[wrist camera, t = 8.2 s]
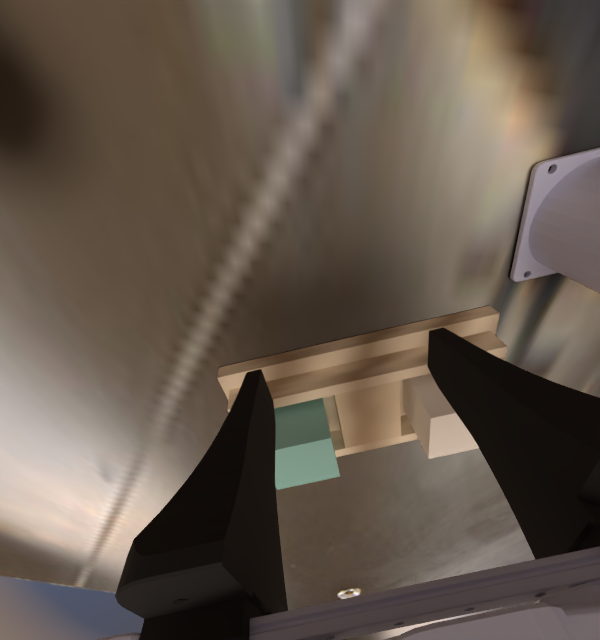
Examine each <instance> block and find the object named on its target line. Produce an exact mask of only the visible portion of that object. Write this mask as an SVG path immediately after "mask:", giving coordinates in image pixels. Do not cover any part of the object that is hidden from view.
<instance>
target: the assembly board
mask: <svg viewBox="0 0 600 640" xmlns="http://www.w3.org/2000/svg"><path fill="white" fill-rule="evenodd" d="M499 314H500V313H498V312H497V311H496V310H495V309H493V308H492V307H491V306H485V307H481V308H477V309H472V310H468V311H463V312H459V313H455V314H450V315H446V316H442V317H437V318H433V319H428V320H424V321H420V322H415V323H411V324H407V325H402V326H398V327H394V328H389V329H385V330H380V331H376V332H372V333H367V334H363V335H359V336H354V337H350V338H345V339H341V340H337V341H332V342H328V343H324V344H319V345H315V346H311V347H306V348H302V349H297V350H293V351H289V352H284V353H280V354H276V355H271V356H267V357H263V358H258V359H254V360H249V361H245V362H241V363H236V364H232V365H228V366H223V367H219V371H218V376H217V379H218V381H219V383H220V385H221V387H222V388H223V390H224V392H225V394H226V396H227V398H228V400H229V401H228V409H227V410H228V412H230V409H231V407H232V405H233V403H234V401H235V399H236V397H237V394H238V392H239V390H240V387H241V385H242V382H243V380H244V377H245V375H246V373H247V372H250V371H254V370H259V369H261V370H262V372H263V375H264V378H265V380H266V383H267V386H268V388H269V391H270V394H271V396H272V399H273V402H274V408H279V407H283V406H288V405H292V404H297V403H301V402H305V401H310V400H314V399H319V398H323V403H324V407H325V411H326V415H327V419H328V424H329V428H330V433H331V437H332V442H333V446H334V451H335V455H336V457H339V456H343V455H348V454H352V453H357V452H362V451H366V450H371V449H375V448H380V447H384V446H389V445H394V444H398V443H403V442H407V441H412V440H416V439H418V437H417V435H416V433H415V431H414V429H413V427H412V425H411V423H410V421H409V419H408V417H407V415H406V413H405V411H404V409H403V380H404V379H408V378H412V377H417V376H421V375H426V374H430V371H429V369H428V367H427V365H428V341H429V331H430V330H434V329H439V328H443V327H444V328H446V329H447V330H449V331H451V332H453V333H455V334H456V335H458V336H460V337H462V338H463V339H465V340H467V341H469V342H470V343H472V344H474V345H476V346H478V347H479V348H481V349H483V350H485V351H487V352H489V353H490V354H492V355H494V356H496V357H498V358H500V359H502V360H505V355H506V351H507V347H508V346H507V345H505V344H504V343H503V342H502V341H501V340H500V339H499V338H498V337H497V336H495V335H496V329H497V324H498V319H499Z"/></svg>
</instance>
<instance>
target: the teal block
mask: <svg viewBox="0 0 600 640" xmlns="http://www.w3.org/2000/svg"><path fill="white" fill-rule="evenodd" d="M274 411H275V422H276V443H275V486H276V488H277V490H279V489H283V488H288V487H293V486H297V485H302V484H307V483H311V482H316V481H320V480H325V479H330V478H334V477H339V476H340V474H339V469H338V465H337V460H336V455H335V451H334V446H333V442H332V437H331V433H330V428H329V424H328V419H327V415H326V411H325V407H324V403H323V398H319V399H314V400H310V401H305V402H301V403H297V404H292V405H288V406H283V407H279V408H274Z"/></svg>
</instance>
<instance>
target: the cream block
mask: <svg viewBox="0 0 600 640" xmlns="http://www.w3.org/2000/svg"><path fill="white" fill-rule="evenodd" d="M403 409H404V411H405V413H406V415H407V417H408V419H409V421H410V423H411V425H412V427H413V429H414V431H415V433H416V435H417V437H418V439H419V441H420V443H421V445H422V447H423V449H424V451H425V453H426V455H427V457H428V459H431V458H435V457H440V456H445V455H449V454H454V453H458V452H463V451H468V450H472V449H477V448H479V447H478V445H477V443H476V442H475V440H474V438H473V437H472V435H471V434H470V432H469V431H468V429H467V428H466V427H465V425H464V424H463V422H462V421H461V419H460V418H459V417H458V415H457V414H456V412H455V411H454V409H453V408H452V407H451V405H450V404H449V402H448V401H447V399H446V398H445V397H444V395H443V394H442V392H441V391H440V389H439V388H438V386H437V384H436V382H435V380H434V379H433V377H432V375H431V373H430V374H426V375H421V376H417V377H412V378H408V379H404V380H403Z"/></svg>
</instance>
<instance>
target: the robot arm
mask: <svg viewBox="0 0 600 640" xmlns="http://www.w3.org/2000/svg"><path fill="white" fill-rule="evenodd" d="M551 165H552V168H551V170H550V171H549V172H548V169H549V167H550V166H551ZM524 273H526V274H525V275H524ZM555 273H560V274H562V275H564V276H566V277H568V278H570V279H572V280H574V281H576V282H578V283H580V284H582V285H584V286H586V287H588V288H590V289H592V290H594V291H596V292H598V293H600V147H599V148H595V149H591V150H587V151H582V152H578V153H574V154H570V155H566V156H562V157H557V158H553V159H549V160H545V161H541V162H539V163H537V164H536V165H535V166H534V168H533V170H532V172H531V177H530V182H529V187H528V192H527V196H526V201H525V206H524V211H523V216H522V221H521V226H520V231H519V235H518V240H517V245H516V250H515V255H514V260H513V265H512V270H511V274H510V278H511V279H512V280H513V281H515V282H520V281H524V280H529V279H533V278H537V277H542V276H546V275H550V274H555ZM427 367H428V369H429V371H430V373H431V375H432V377H433V379H434V380H435V382H436V384H437V386H438V388H439V389H440V391H441V392H442V394H443V395H444V397H445V398H446V399H447V401H448V402H449V404H450V405H451V407H452V408H453V409H454V411H455V412H456V414H457V415H458V417H459V418H460V419H461V421H462V422H463V424H464V425H465V427H466V428H467V429H468V431H469V432H470V434H471V435H472V437H473V438H474V440H475V442H476V443H477V445H478V447H479V449H480V450H481V452H482V454H483V456H484V457H485V459H486V461H487V463H488V465H489V466H490V468H491V470H492V472H493V474H494V476H495V478H496V479H497V481H498V483H499V485H500V487H501V489H502V491H503V493H504V495H505V497H506V499H507V501H508V503H509V505H510V507H511V509H512V511H513V513H514V515H515V517H516V519H517V521H518V523H519V525H520V527H521V529H522V531H523V533H524V535H525V538H526V540H527V542H528V544H529V546H530V548H531V550H532V553H533V555H534V557H535V559H536V560H531V561H526V562H521V563H517V564H512V565H507V566H502V567H497V568H492V569H488V570H483V571H478V572H473V573H468V574H463V575H459V576H454V577H449V578H444V579H439V580H434V581H429V582H425V583H420V584H415V585H410V586H405V587H400V588H396V589H391V590H386V591H381V592H376V593H371V594H366V595H362V596H357V597H352V598H347V599H342V600H337V601H333V602H328V603H323V604H318V605H313V606H308V607H304V608H299V609H294V610H289V611H288V607H287V599H286V591H285V582H284V574H283V565H282V555H281V546H280V536H279V525H278V514H277V502H276V489H275V443H276V422H275V411H274V402H273V399H272V396H271V394H270V391H269V388H268V386H267V383H266V380H265V378H264V375H263V372H262V370H261V369H259V370H254V371H250V372H247V373H246V375H245V377H244V380H243V382H242V385H241V387H240V390H239V392H238V394H237V397H236V399H235V401H234V403H233V405H232V407H231V409H230V412H229V414H228V416H227V418H226V420H225V421H224V423H223V425H222V427H221V429H220V431H219V433H218V434H217V436H216V438H215V439H214V441H213V443H212V444H211V446H210V448H209V449H208V451H207V452H206V454H205V455H204V457H203V458H202V460H201V461H200V463H199V464H198V465H197V467H196V468H195V470H194V471H193V472H192V474H191V475H190V476H189V478H188V479H187V480H186V482H185V483H184V484H183V485H182V487H181V488H180V489H179V490H178V492H177V493H176V494H175V495H174V496H173V498H172V499H171V500H170V501H169V502H168V504H167V505H166V506H165V507H164V508H163V509H162V510H161V512H160V513H159V514H158V515H157V516H156V517H155V518H154V519H153V520H152V521H151V522H150V523H149V524H148V525H147V526H146V527H145V528H144V529H143V531H142V532H141V533H140V534H139V535H138V536H137V537H136V538H135V539H134V540H133V543H132V546H131V548H130V551H129V553H128V556H127V559H126V563H125V566H124V569H123V572H122V575H121V579H120V582H119V585H118V588H117V592H116V595H115V596H116V599H117V602H118V603H119V604H120V605H121V606H122V607H124V608H126V609H127V610H129V611H131V612H133V613H135V614H137V615H138V616H140V617H142V618H144V623H143V627H142V632H141V633H126V634H121V635H116V636H111V637H106V638H101V639H97V640H341V639H346V638H351V637H356V636H361V635H366V634H371V633H376V632H381V631H386V630H390V629H395V628H400V627H405V626H410V625H415V624H420V623H425V622H430V621H435V620H440V619H445V618H450V617H455V616H459V615H464V614H469V613H474V612H479V611H484V610H489V609H494V608H499V607H504V606H509V605H514V604H519V603H523V602H528V601H533V600H538V599H541V600H540V603H534V604H526V605H521V606H516V607H511V608H506V609H501V610H496V611H492V612H487V613H482V614H477V615H472V616H467V617H462V618H457V619H452V620H447V621H442V622H437V623H433V624H429V625H425V626H421V627H418V628H414V629H412V630H410V631H407V632H405V633H403V634H401V635H399V636H395V637H392V638H388V639H385V640H600V398H599V397H595V396H592V395H589V394H586V393H583V392H580V391H577V390H574V389H571V388H568V387H565V386H563V385H560V384H557V383H555V382H552V381H549V380H547V379H545V378H542V377H540V376H537V375H535V374H532V373H530V372H528V371H525V370H523V369H521V368H519V367H517V366H515V365H512V364H510V363H508V362H506V361H504V360H502V359H500V358H498V357H496V356H494V355H492V354H490V353H489V352H487V351H485V350H483V349H481V348H479V347H478V346H476V345H474V344H472V343H470V342H469V341H467V340H465V339H463V338H462V337H460V336H458V335H456V334H455V333H453V332H451V331H449V330H447V329H446V328H444V327H443V328H439V329H434V330H430V331H429V341H428V365H427Z"/></svg>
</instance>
